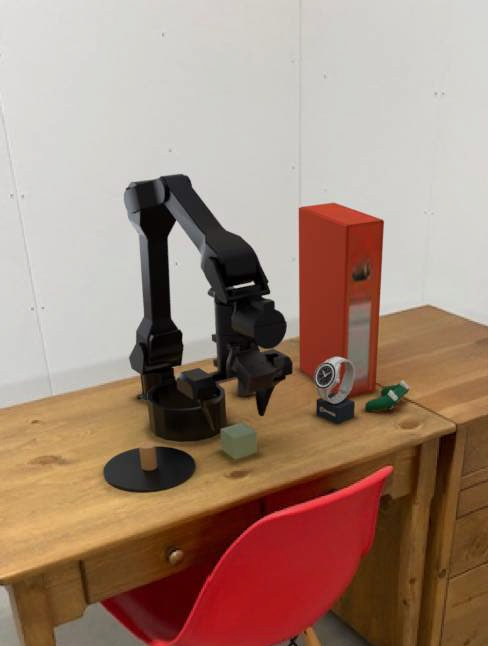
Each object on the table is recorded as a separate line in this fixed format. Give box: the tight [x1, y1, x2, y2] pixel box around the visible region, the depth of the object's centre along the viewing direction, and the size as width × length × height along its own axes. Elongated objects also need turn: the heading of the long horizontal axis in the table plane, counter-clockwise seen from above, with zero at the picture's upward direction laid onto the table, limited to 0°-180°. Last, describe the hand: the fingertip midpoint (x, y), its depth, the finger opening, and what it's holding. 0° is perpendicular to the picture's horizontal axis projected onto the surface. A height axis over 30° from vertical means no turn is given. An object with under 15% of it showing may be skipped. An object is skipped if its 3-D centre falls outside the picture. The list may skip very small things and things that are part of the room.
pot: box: [146, 380, 228, 443], centre depth 141 cm, size 14×14×6 cm
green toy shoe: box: [364, 379, 410, 412], centre depth 149 cm, size 9×4×6 cm
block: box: [220, 422, 258, 460], centre depth 133 cm, size 4×4×4 cm
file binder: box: [298, 202, 385, 399], centre depth 152 cm, size 8×17×32 cm, turn 26°
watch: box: [313, 357, 356, 425], centre depth 143 cm, size 6×8×11 cm
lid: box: [102, 440, 196, 493], centre depth 128 cm, size 15×15×5 cm
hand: (237, 422), depth 131 cm, fingers open, 9 cm apart
